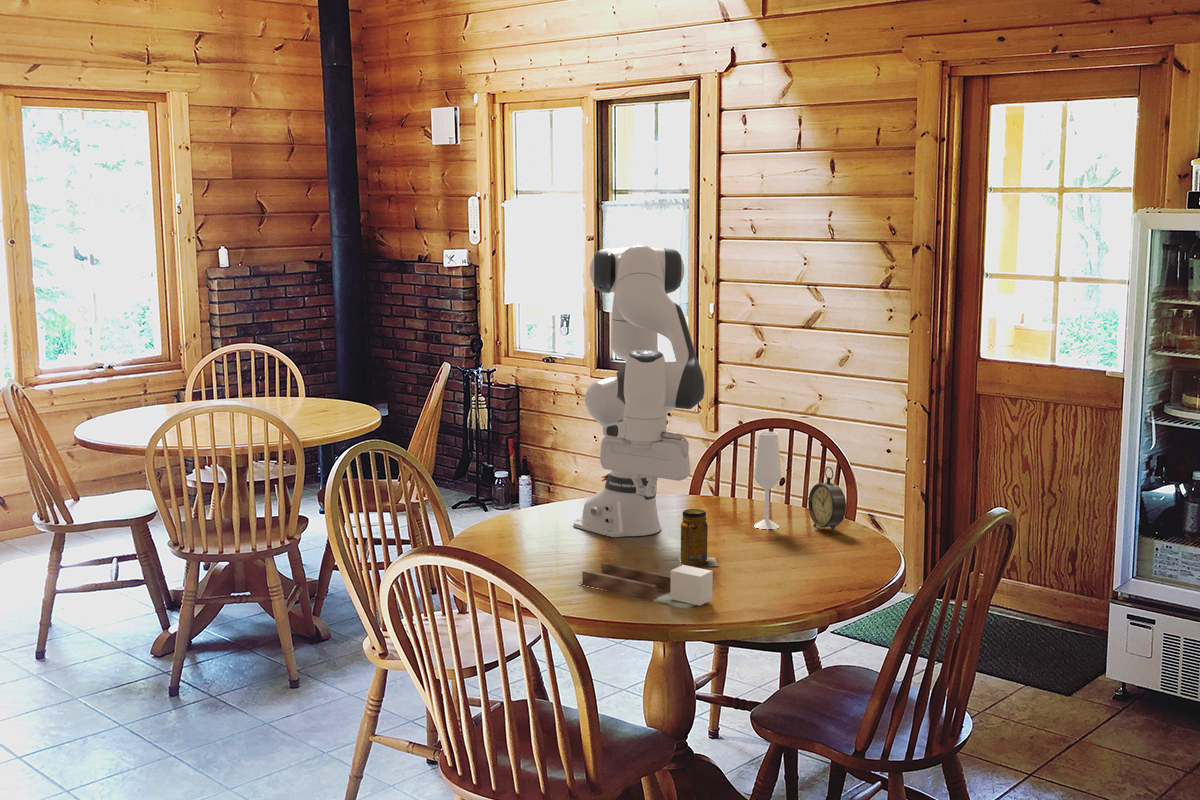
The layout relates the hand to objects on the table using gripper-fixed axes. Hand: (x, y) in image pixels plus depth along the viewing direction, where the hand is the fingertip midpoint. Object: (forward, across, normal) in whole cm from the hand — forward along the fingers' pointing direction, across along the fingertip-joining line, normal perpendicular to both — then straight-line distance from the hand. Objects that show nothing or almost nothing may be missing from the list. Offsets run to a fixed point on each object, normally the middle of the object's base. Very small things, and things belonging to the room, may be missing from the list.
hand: (644, 495), depth 243 cm
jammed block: (+20, -12, 0) cm, 23 cm away
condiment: (+21, +2, -25) cm, 33 cm away
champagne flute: (+21, +4, -62) cm, 65 cm away
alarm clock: (+21, -10, -68) cm, 72 cm away
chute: (+21, 0, 0) cm, 21 cm away
